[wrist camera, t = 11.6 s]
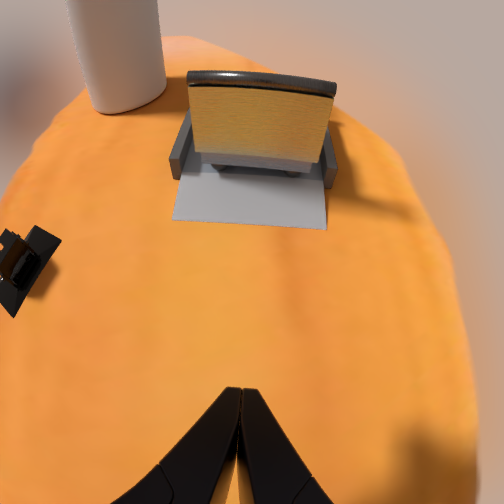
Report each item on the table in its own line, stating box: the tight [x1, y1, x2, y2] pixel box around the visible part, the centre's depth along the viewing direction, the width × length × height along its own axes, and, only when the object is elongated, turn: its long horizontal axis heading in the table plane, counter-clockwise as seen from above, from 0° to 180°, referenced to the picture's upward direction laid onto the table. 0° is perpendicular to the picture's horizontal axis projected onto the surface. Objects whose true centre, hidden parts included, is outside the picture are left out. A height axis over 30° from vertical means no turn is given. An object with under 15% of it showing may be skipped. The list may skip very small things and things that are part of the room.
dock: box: [169, 107, 338, 230], centre depth 29 cm, size 19×16×5 cm
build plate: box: [0, 225, 62, 318], centre depth 21 cm, size 12×7×5 cm, turn 157°
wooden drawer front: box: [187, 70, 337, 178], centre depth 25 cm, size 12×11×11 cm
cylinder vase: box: [65, 0, 167, 114], centre depth 27 cm, size 12×12×25 cm
